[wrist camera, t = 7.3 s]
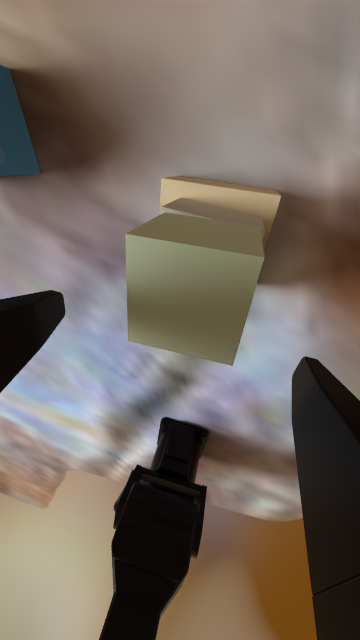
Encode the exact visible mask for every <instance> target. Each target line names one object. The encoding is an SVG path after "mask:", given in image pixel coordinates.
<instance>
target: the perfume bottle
mask: <svg viewBox="0 0 360 640" xmlns="http://www.w3.org/2000/svg"><path fill="white" fill-rule="evenodd" d="M31 174H41V172H40V169H39V166H38V162H37V159H36V156H35V152H34V149H33V146H32V142H31V139H30V136H29V132H28V129H27V126H26V122H25V119H24V116H23V112H22V109H21V106H20V102H19V99H18V96H17V92H16V89H15V86H14V82H13V79H12V76H11V72H10V69H9V68H6V67H4V66H1V65H0V177H1V176H16V175H31Z"/></svg>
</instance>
